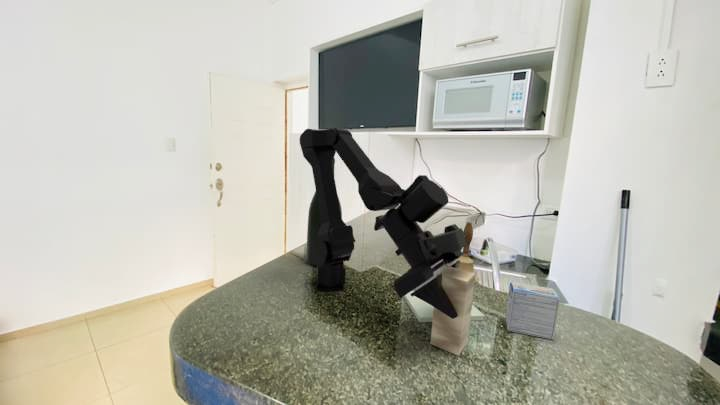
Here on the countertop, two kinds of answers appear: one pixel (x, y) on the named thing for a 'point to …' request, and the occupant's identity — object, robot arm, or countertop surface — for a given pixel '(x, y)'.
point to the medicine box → (532, 310)
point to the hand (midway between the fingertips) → (460, 311)
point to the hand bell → (467, 252)
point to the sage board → (432, 309)
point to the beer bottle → (314, 224)
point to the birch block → (460, 293)
